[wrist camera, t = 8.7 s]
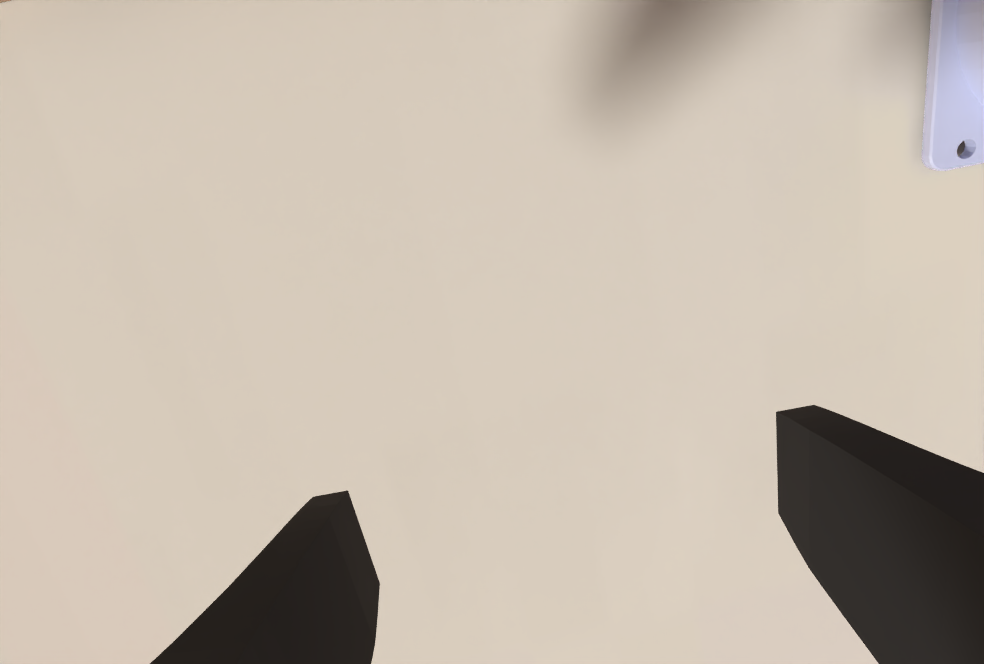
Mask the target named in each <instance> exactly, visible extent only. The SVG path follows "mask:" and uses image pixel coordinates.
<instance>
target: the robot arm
mask: <svg viewBox="0 0 984 664" xmlns="http://www.w3.org/2000/svg"><path fill="white" fill-rule="evenodd" d="M962 141H964V142H965V148H964V151H963V152H962V153H961V155H960V156H958V155H957V149H958V146H959V145H960V144H961V143H962ZM922 162H923V163H924V165H925V166H926V167H927V168H929V169H932V170H938V171H946V170H951V169H956V168H961V167H966V166H971V165H976V164H981V163H984V0H932V9H931V23H930V38H929V53H928V68H927V83H926V97H925V112H924V127H923V142H922ZM776 426H777V471H778V513H779V515H780V517H781V519H782V521H783V522H784V524H785V526H786V528H787V530H788V532H789V533H790V535H791V537H792V539H793V541H794V543H795V545H796V546H797V548H798V550H799V551H800V553H801V555H802V557H803V558H804V560H805V562H806V564H807V565H808V567H809V569H810V570H811V572H812V573H813V574H814V576H815V577H816V579H817V580H818V581H819V583H820V584H821V586H822V587H823V588H824V590H825V591H826V592H827V594H828V595H829V597H830V598H831V599H832V601H833V602H834V603H835V605H836V606H837V608H838V609H839V610H840V612H841V613H842V614H843V616H844V617H845V618H846V620H847V621H848V623H849V624H850V625H851V627H852V628H853V629H854V631H855V632H856V633H857V635H858V636H859V637H860V639H861V640H862V641H863V643H864V644H865V645H866V647H867V648H868V650H869V651H870V652H871V654H872V655H873V656H874V658H875V659H876V660H877V662H878V663H879V664H984V473H982V472H979V471H977V470H974V469H972V468H969V467H966V466H964V465H961V464H959V463H956V462H954V461H951V460H949V459H946V458H944V457H941V456H939V455H936V454H934V453H932V452H929V451H927V450H924V449H922V448H919V447H917V446H915V445H912V444H910V443H907V442H905V441H903V440H900V439H898V438H895V437H893V436H891V435H888V434H886V433H883V432H881V431H879V430H876V429H874V428H872V427H869V426H867V425H864V424H862V423H860V422H857V421H855V420H852V419H850V418H848V417H845V416H843V415H840V414H838V413H835V412H832V411H830V410H827V409H824V408H821V407H818V406H815V405H811V406H806V407H800V408H795V409H789V410H784V411H778V412H776ZM379 586H380V583H379V580H378V577H377V574H376V571H375V568H374V565H373V562H372V559H371V557H370V554H369V551H368V548H367V545H366V542H365V539H364V536H363V533H362V530H361V527H360V525H359V522H358V519H357V516H356V513H355V510H354V507H353V504H352V501H351V498H350V495H349V493H348V491H343V492H337V493H332V494H326V495H321V496H315V497H312V498H311V499H310V500H309V501H308V502H307V503H306V504H305V505H304V506H303V507H302V508H301V509H300V510H299V511H298V512H297V513H296V515H295V516H294V517H293V518H292V519H291V520H290V521H289V522H288V523H287V524H286V525H285V526H284V527H283V529H282V530H281V531H280V532H279V533H278V534H277V535H276V536H275V537H274V538H273V540H272V541H271V542H270V543H269V544H268V545H267V546H266V547H265V548H264V549H263V550H262V552H261V553H260V554H259V555H258V556H257V557H256V558H255V559H254V560H253V561H252V562H251V563H250V564H249V565H248V567H247V568H246V569H245V570H244V571H243V572H242V573H241V574H240V575H239V576H238V577H237V578H236V579H235V581H234V582H233V583H232V584H231V585H230V586H229V587H228V588H227V589H226V590H225V591H224V592H223V593H222V594H221V595H220V596H219V597H218V598H217V599H216V600H215V601H214V602H213V603H212V604H211V605H210V606H209V607H208V608H207V609H206V610H205V611H204V612H203V613H202V614H201V615H200V616H199V617H198V618H197V619H196V620H195V621H194V622H193V623H192V624H191V625H190V626H189V627H188V628H187V629H186V630H185V631H184V632H183V633H182V634H181V635H180V636H179V637H178V638H177V639H176V640H175V641H174V642H173V643H172V644H171V645H170V646H169V647H167V648H166V649H165V650H164V651H163V652H162V653H161V654H160V655H159V656H158V657H157V658H156V659H155V660H153V661H152V662H151V663H150V664H371V661H372V656H373V651H374V646H375V638H376V627H377V616H378V601H379Z"/></svg>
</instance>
